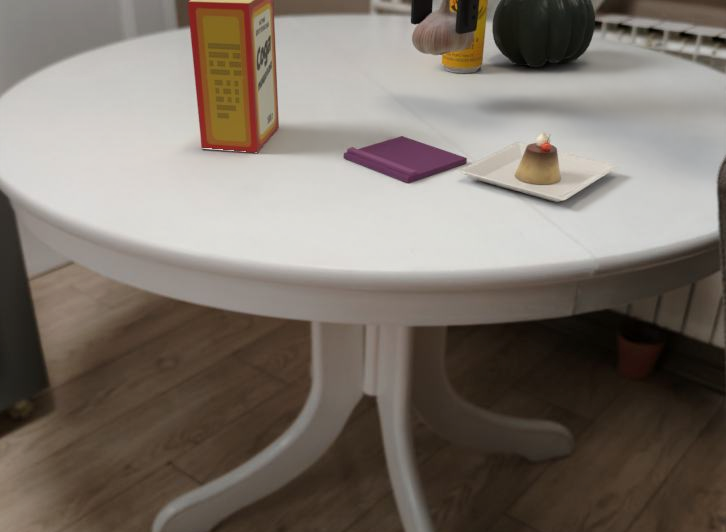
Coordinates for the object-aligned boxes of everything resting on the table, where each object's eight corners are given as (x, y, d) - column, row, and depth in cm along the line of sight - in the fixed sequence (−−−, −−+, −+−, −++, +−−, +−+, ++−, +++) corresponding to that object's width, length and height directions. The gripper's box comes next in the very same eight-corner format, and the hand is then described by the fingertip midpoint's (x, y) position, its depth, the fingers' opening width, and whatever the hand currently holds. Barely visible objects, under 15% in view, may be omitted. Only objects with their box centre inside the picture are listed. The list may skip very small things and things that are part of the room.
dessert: (562, 210, 76) (570, 162, 74) (456, 181, 83) (460, 135, 80) (617, 176, 84) (626, 130, 81) (516, 151, 90) (521, 108, 88)
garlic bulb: (478, 49, 103) (484, -19, 98) (462, 61, 97) (467, -10, 93) (422, 44, 105) (426, -23, 101) (403, 56, 100) (405, -14, 95)
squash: (620, 35, 116) (595, -59, 118) (524, 46, 113) (500, -51, 115) (576, 83, 130) (555, -2, 132) (490, 93, 127) (469, 6, 129)
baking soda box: (257, 153, 90) (248, -1, 81) (201, 149, 91) (187, -3, 82) (278, 127, 98) (272, -15, 89) (227, 124, 99) (216, -17, 90)
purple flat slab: (466, 163, 87) (467, 154, 87) (407, 183, 82) (408, 173, 82) (401, 140, 94) (402, 132, 93) (343, 158, 89) (343, 149, 88)
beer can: (436, 71, 120) (443, -39, 112) (447, 62, 125) (454, -44, 117) (476, 75, 119) (485, -37, 110) (485, 66, 123) (495, -42, 115)
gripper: (537, -140, 87) (518, 34, 96) (421, -143, 98) (414, 13, 107) (492, -139, 82) (476, 43, 92) (376, -142, 93) (372, 21, 103)
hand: (443, 26), depth 100 cm, fingers closed on garlic bulb, 6 cm apart
